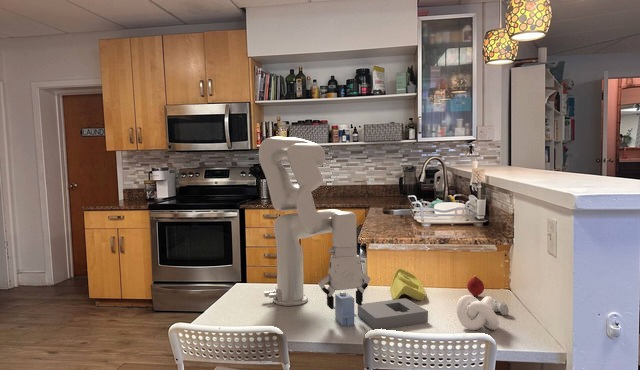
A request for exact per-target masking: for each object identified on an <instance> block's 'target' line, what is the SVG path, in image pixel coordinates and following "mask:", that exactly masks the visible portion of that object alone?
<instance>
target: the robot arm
mask: <svg viewBox="0 0 640 370" xmlns="http://www.w3.org/2000/svg"><path fill="white" fill-rule="evenodd" d="M258 159H259V165H260V166H261V169H262V171H263V174H264V176H265V179H266V183H267V188H268V191H269V192H268V193H269V196H270V197H269V198H270V201H271V204H272V207H273V209H274V210H276V211H278V212H290V211H296V212H292V213H284V214H281V215H280V216H278V217H277V218H276V219H275V220H274V223H273V232H274V236H275V243H276V275H277V276H276V284H277V286H275V288H274V289H273V290H270V291H269V290H267V291H266V290H265V291H264V292H263V293H264V294H263V295H264V297H265V298H267V297H268V298H269V299H272V302H273V303H274V304H276V305H279V306H282V307H283V306H286V307H290V306H291V307H292V306H293V307H294V306H300V305H303V304H305V303H307V302H308V300H309V299H308V298H309V296H308V295H307V294H306V293H304V250H303V248H302V246H301V244H300V242H299V240H301V239H307V238H311V237H314V236H317V235H323V234H330V233H332V235H331V236H332V237H331V238H332V240H331V241H332V243H331V244H332V245H331V248H328V249H327V250H328V251H327V252H328V254H331V256H330V258H329V265H328V273H327V276H325V277H323V278H322V279H321V280H319V281H318V282H317V284H318V286H319V287H320V289H321V291H322V292H323V293H325V294H326V305H327V307H328V308H329V309H331V310H335V309H334V307H335V296H333V295H334V293H335V291H343V290H344V291H345V290H346V291H347V290H355V289H356V291H355V303H356V304H357V306H358V305H360V306H361V305H362V304H363V301H364V298H363V297H364V296H363V295H364V292H365V290H366V289H367V288H368V286H369V283H370V281H371V277H370V276H368V275H366V274H364V273H363V270H362V269H363V268H362V263H361V257H360V255H359V254H358V252H357V251H358V250H357V235H358V234H357V215H356V213H355V212H353V211H347V210H346V211H345V210H344V211H342V210H340V209H335V208H331V209H329V208H328V209H320V210H318V209H316V205H315V199H314V197H313V194H312V192H313V191H315V190H316V189H319V187H320V186H321V185H322V184H323V181H324V178H323V176H322V173H321V172H320V169H319V167H321V166H323V165H324V164H325V162H326V152H325V150H324V148H323V146H321V145H319V144H318V143H315V142H312V141H309V140H306V139H303V138H298V137H286V136H285V137H284V136H271V137H267V138H265V139H263V140H262V141H261V143H260V145H259V149H258ZM280 161H288V163H289V166H290V168H291V171H292V173H293V175H294V178H295V180H296V183H297V184H292V181H291V178H290V174H289V171H288V170H287V169H286V167H285V166H284V165H283V164H282V163H281V162H280ZM327 283H328V287H326V286H325V285H326V284H327Z"/></svg>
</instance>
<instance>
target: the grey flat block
mask: <svg viewBox="0 0 640 370" xmlns="http://www.w3.org/2000/svg"><path fill="white" fill-rule="evenodd" d="M357 316H358V317H359V318H360V319H362V320H363V321H364V322H365V323H366V324H367V325H369V326H370V327H371V329H374V330H375V329H381V328H382V330H388V329H393V328H395V329H396V328H402V327H407V326H406V325H408V326H414V325H413V324H415V325H420V324H419V323H421V324H426V323H425V322H429V311H428V310H426V308H423V307H422V306H420V305H418V304H416V303H415V302H413V301H411V300H409V299H408V298H407V297H405V298H398V299H396V300H394V299H389V300H382V301H374V302H373V301H372V302H365V303H362V305H361V306H360V305H358V304H357ZM401 326H402V327H401Z"/></svg>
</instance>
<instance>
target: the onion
mask: <svg viewBox="0 0 640 370" xmlns="http://www.w3.org/2000/svg"><path fill="white" fill-rule="evenodd" d="M466 288H467V290H468V292H469V293H470V295H471V296H473V297H474V296H476V297H478V296H480V295H481V294H482V293H484V291H485V285H484V283H483V281H482V280H481V278H478V276H477V275H476V274H474V275H473V277H472V278H471V279H469V281H468V282H467V285H466Z"/></svg>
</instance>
